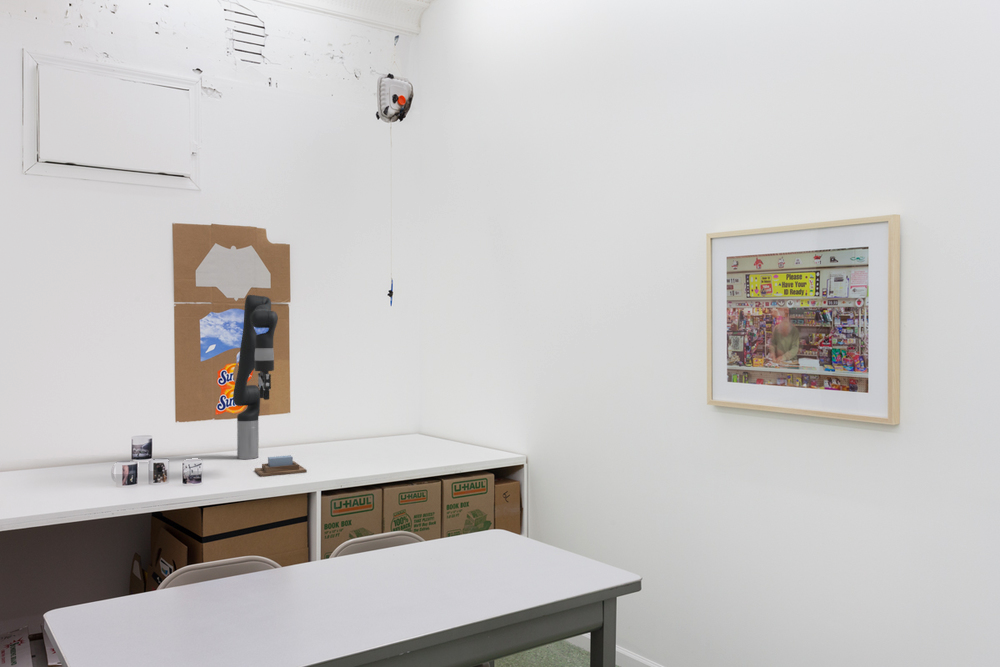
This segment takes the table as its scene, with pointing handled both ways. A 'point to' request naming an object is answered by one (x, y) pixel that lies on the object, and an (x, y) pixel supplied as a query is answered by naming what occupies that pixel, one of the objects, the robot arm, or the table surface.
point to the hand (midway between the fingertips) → (264, 398)
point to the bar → (280, 461)
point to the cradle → (280, 470)
